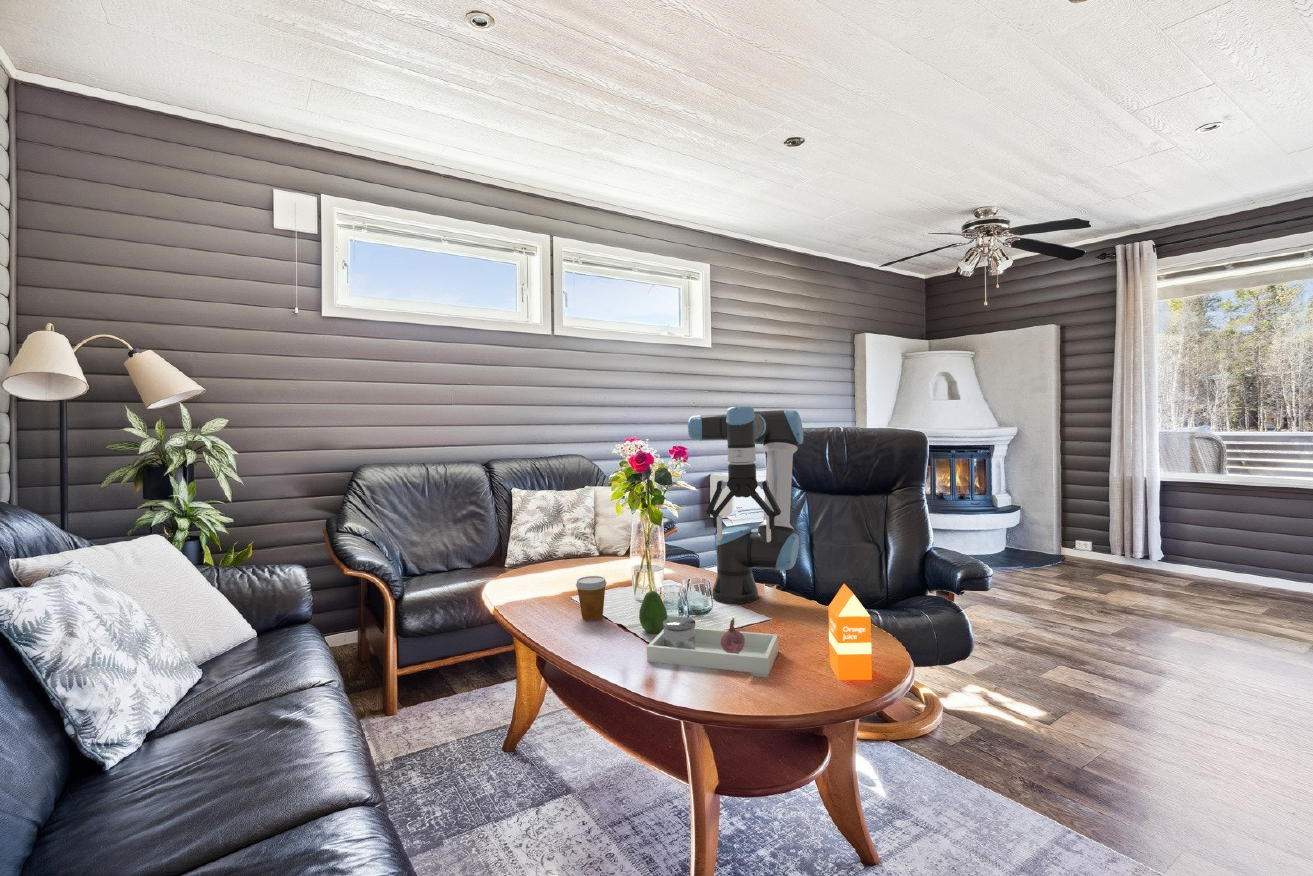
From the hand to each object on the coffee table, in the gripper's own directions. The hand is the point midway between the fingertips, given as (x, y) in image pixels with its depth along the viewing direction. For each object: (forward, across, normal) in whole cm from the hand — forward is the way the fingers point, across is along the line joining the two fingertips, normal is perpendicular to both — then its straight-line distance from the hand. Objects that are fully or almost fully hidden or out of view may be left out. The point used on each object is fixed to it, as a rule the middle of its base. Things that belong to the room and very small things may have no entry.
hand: (744, 540), depth 171 cm
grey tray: (+27, -5, -17) cm, 32 cm away
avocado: (+27, -26, -4) cm, 38 cm away
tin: (+26, -14, -17) cm, 34 cm away
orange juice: (+27, +28, -17) cm, 42 cm away
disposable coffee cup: (+27, -49, +4) cm, 56 cm away
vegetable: (+26, 0, -17) cm, 31 cm away
